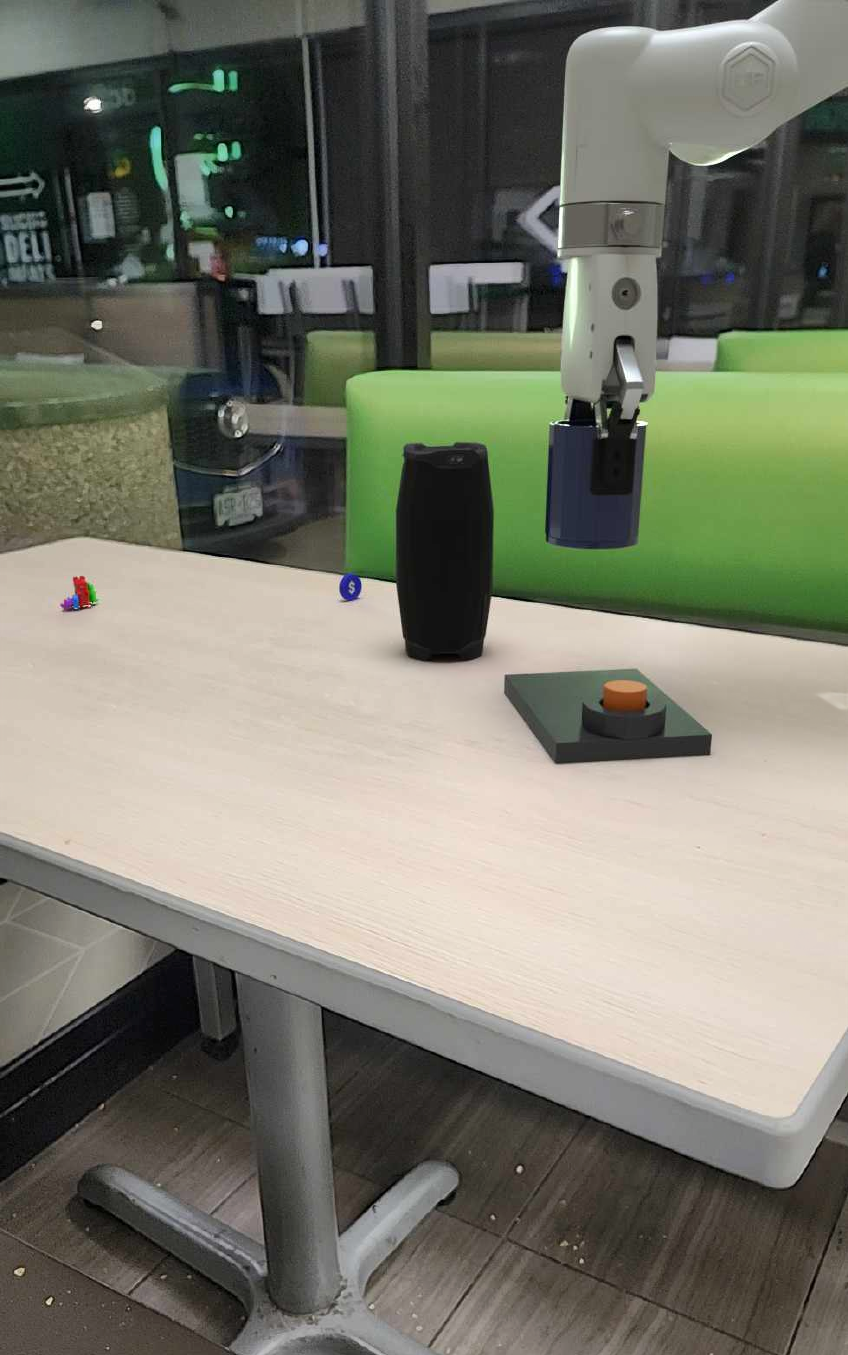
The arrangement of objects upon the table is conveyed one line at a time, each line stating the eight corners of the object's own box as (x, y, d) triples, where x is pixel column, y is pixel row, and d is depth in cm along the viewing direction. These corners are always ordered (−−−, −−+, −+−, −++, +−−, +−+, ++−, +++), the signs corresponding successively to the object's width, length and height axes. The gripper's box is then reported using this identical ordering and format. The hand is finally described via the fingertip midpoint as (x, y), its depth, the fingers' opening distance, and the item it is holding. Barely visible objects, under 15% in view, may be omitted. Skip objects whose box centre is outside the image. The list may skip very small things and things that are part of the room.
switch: (637, 700, 89) (639, 679, 88) (651, 713, 86) (653, 691, 85) (597, 702, 88) (599, 681, 88) (609, 715, 85) (611, 693, 85)
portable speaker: (380, 652, 114) (376, 445, 106) (451, 636, 119) (452, 438, 111) (437, 670, 108) (437, 452, 100) (509, 653, 113) (514, 445, 105)
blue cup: (622, 532, 96) (629, 418, 92) (650, 548, 89) (660, 426, 86) (535, 534, 95) (540, 419, 91) (558, 550, 88) (564, 427, 85)
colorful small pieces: (65, 613, 129) (61, 581, 128) (55, 608, 131) (51, 577, 130) (106, 606, 132) (102, 575, 131) (95, 602, 134) (92, 572, 133)
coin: (343, 602, 134) (343, 576, 133) (339, 601, 134) (338, 575, 133) (361, 598, 136) (361, 572, 135) (357, 597, 136) (357, 571, 135)
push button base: (635, 686, 103) (637, 648, 101) (710, 756, 86) (715, 711, 85) (504, 693, 101) (504, 654, 100) (555, 764, 85) (557, 720, 83)
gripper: (703, 227, 76) (679, 502, 83) (623, 243, 92) (608, 473, 99) (593, 226, 75) (578, 504, 82) (531, 242, 91) (523, 474, 98)
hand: (595, 485), depth 90 cm, fingers closed on blue cup, 7 cm apart
